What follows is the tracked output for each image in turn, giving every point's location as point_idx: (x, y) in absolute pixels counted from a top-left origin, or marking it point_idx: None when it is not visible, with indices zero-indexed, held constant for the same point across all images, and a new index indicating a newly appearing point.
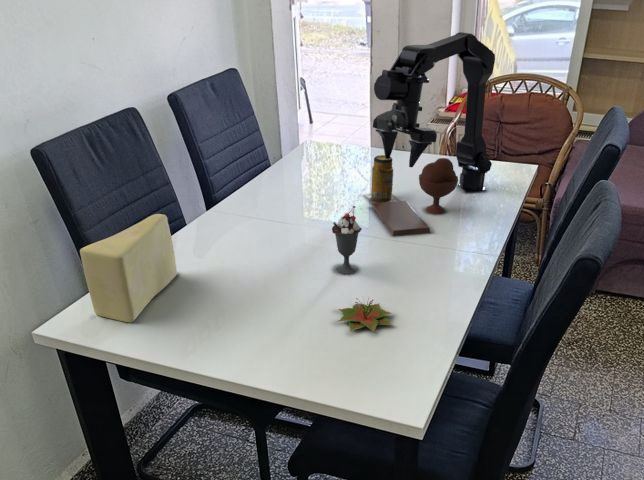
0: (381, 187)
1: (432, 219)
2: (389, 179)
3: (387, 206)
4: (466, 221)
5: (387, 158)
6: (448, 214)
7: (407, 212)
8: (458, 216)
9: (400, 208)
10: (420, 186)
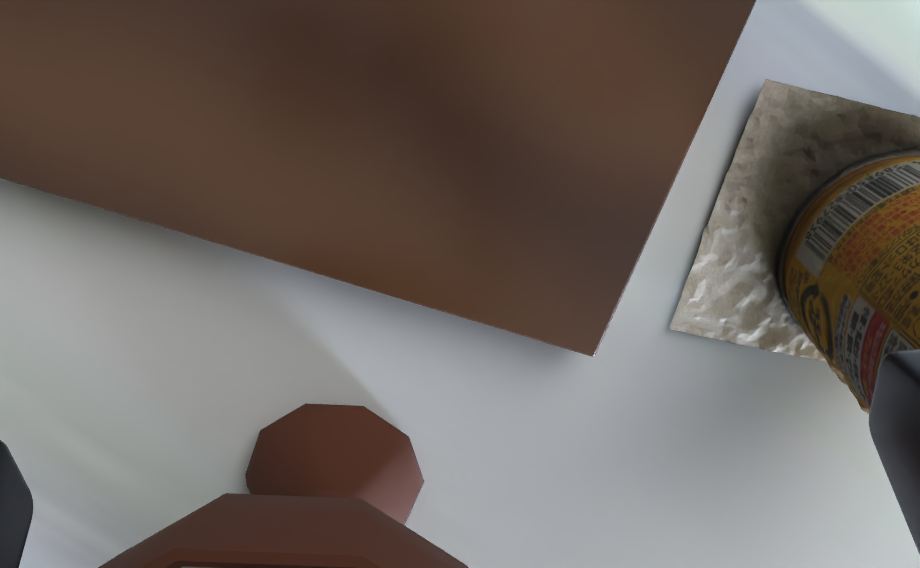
0: (886, 246)
1: (167, 339)
2: None
3: (563, 95)
4: None
5: (879, 382)
6: None
7: (300, 178)
8: None
9: (435, 184)
10: (362, 505)
